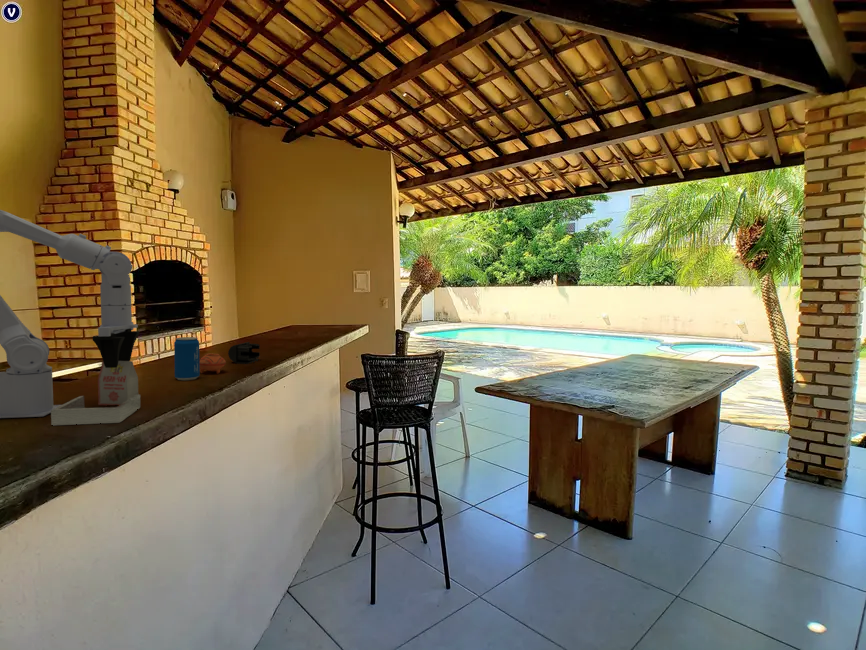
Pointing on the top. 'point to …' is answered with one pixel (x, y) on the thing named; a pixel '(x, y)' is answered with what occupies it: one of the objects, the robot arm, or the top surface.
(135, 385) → the tea bag
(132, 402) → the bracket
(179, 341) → the beverage can
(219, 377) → the top surface
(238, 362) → the end cap
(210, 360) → the pot
